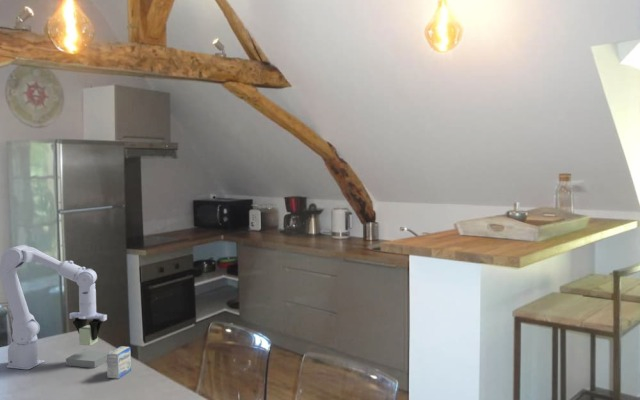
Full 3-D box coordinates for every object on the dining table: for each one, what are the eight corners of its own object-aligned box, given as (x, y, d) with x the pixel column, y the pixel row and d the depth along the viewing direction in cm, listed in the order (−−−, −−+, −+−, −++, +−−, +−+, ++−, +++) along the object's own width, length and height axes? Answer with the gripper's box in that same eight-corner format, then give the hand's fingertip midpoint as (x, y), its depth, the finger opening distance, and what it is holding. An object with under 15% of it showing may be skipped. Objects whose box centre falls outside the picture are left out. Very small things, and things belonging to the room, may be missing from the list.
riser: (66, 365, 191) (65, 358, 191) (84, 355, 201) (84, 349, 200) (94, 368, 188) (94, 361, 188) (111, 358, 198) (111, 351, 198)
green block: (79, 344, 192) (79, 328, 192) (87, 340, 197) (87, 325, 196) (90, 345, 191) (89, 329, 191) (98, 341, 196) (97, 325, 195)
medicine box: (118, 379, 178) (118, 354, 178) (106, 378, 179) (106, 353, 179) (131, 370, 186) (130, 346, 185) (120, 369, 187) (119, 345, 186)
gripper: (63, 304, 191) (64, 340, 192) (98, 306, 187) (99, 343, 188) (76, 299, 198) (77, 334, 198) (110, 301, 194) (111, 337, 195)
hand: (88, 338), depth 194 cm, fingers closed on green block, 4 cm apart
